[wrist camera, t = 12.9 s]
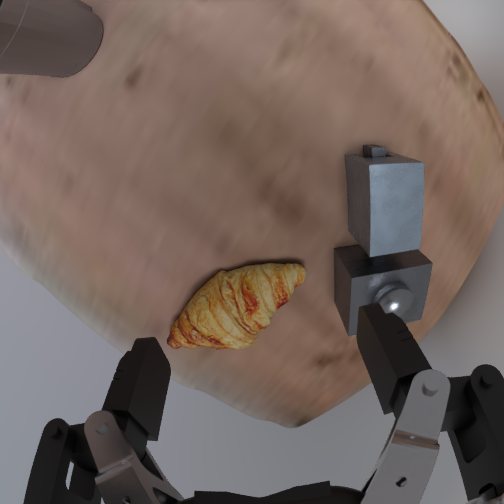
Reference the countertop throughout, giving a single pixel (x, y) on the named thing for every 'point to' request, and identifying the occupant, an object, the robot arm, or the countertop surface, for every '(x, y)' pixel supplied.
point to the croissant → (235, 306)
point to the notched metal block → (385, 202)
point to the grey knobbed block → (380, 278)
